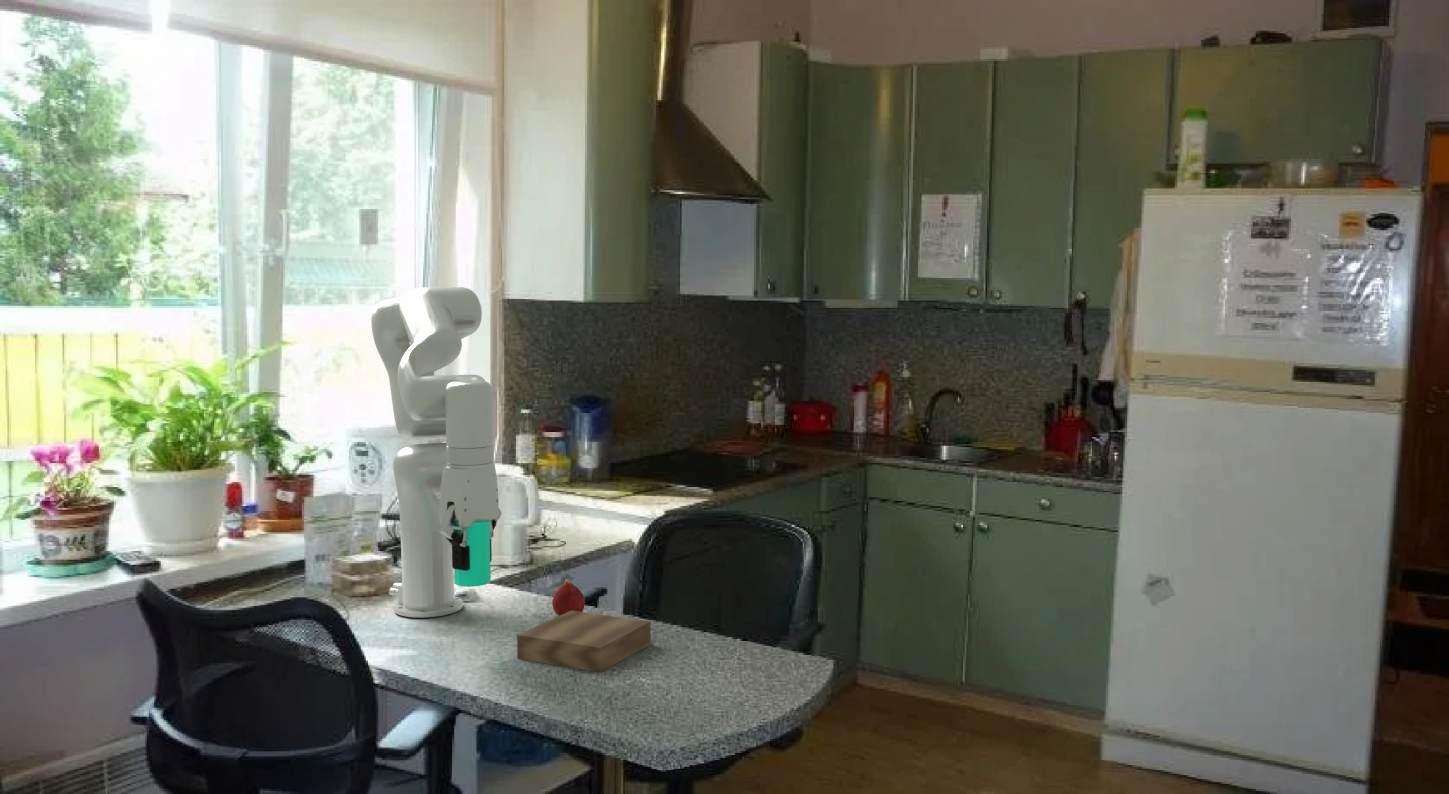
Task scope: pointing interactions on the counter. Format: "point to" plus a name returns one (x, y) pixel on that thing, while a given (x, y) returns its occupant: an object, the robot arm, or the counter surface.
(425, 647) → the counter surface
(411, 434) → the robot arm
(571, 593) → the onion
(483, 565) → the candle
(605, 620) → the walnut base
